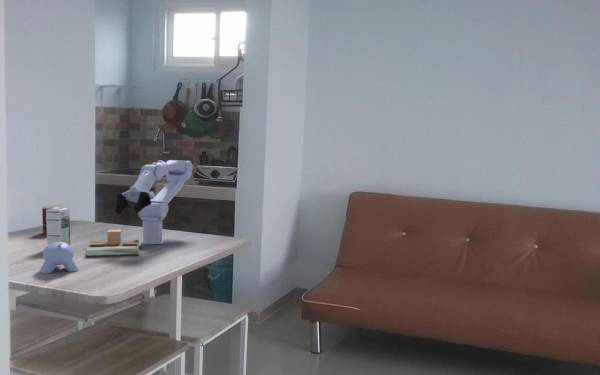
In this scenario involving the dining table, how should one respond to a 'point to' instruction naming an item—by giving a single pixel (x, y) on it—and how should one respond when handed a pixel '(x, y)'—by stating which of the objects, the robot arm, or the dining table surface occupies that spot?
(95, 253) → the board
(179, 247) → the dining table surface
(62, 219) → the syrup box
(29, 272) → the dining table surface
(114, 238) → the terracotta cube
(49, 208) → the canned food
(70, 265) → the hippopotamus toy
